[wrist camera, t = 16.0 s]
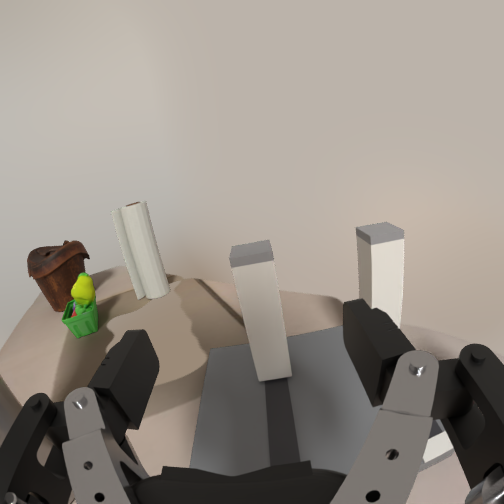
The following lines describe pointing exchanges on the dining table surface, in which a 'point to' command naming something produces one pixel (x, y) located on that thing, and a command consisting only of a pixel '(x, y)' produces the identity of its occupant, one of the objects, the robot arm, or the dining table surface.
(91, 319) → the fruit basket
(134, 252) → the paper towel roll
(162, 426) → the dining table surface
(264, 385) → the twin pillar stand
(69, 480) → the robot arm
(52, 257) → the case
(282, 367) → the handle
